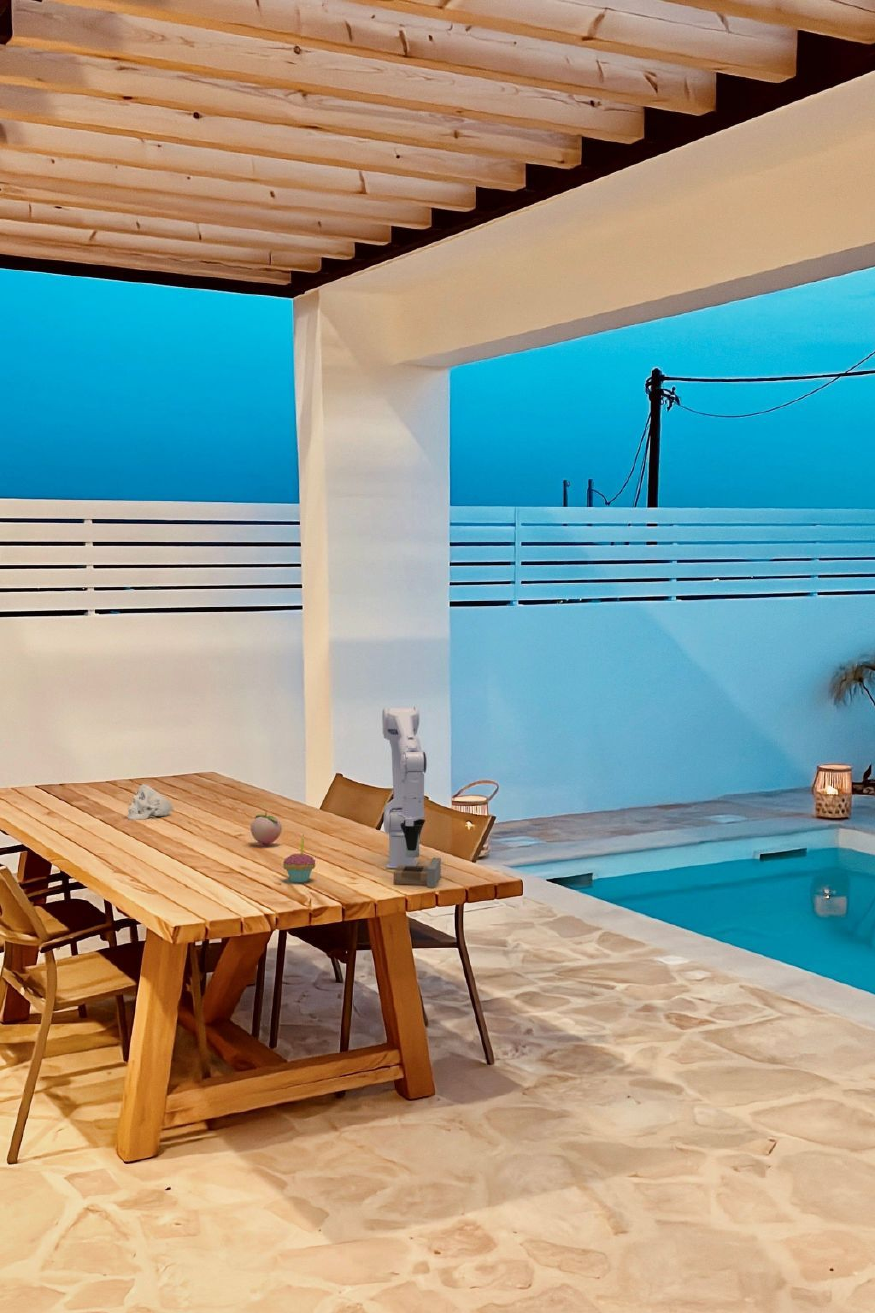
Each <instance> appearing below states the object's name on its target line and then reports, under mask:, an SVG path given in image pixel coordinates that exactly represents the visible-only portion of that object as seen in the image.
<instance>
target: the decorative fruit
mask: <svg viewBox="0 0 875 1313" xmlns="http://www.w3.org/2000/svg"><path fill="white" fill-rule="evenodd" d="M282 830H283V829H282V824H281V822H280V820H278V819H277V818H276V817H275V816H273V815H267V812H265V814H257V815H255V817H254V820H253V821H252V822H251V825H250V832H251V835H252V838H253V839H254V840H255V841H256V842H258V843H260V844H262V845H264V846H268V845H271V844H272V843H273V842H275V841H276V840H277V839H278V838H279V837H280V836H281V834H282Z"/></svg>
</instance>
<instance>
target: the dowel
mask: <svg viewBox="0 0 875 1313" xmlns="http://www.w3.org/2000/svg"><path fill="white" fill-rule="evenodd" d="M406 857H410V858H415V859H416V858H419V857H420V839H419V835H418V841H417V847H416V850H415V851H409V850H407V846H406Z"/></svg>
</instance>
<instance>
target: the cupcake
mask: <svg viewBox="0 0 875 1313" xmlns="http://www.w3.org/2000/svg"><path fill="white" fill-rule="evenodd" d="M304 835H305V834H302V837H301V842H300V843H301V844H300V853H293V854H291V855H289V856H287V857H286V858H285V859H284V861H283V863H282V865H283V866H282V868H283V869H284V870H286V872H287V874H288V878H289V881H290V882H291V883H297V884H300V883H306V882H307V883H308V882H309V880H310V879H309V878H310V875H311V873H312V870H314V869H315V867H316V859H314V857H312V856H311V855H309V854H306V853H304V845H305V837H304Z"/></svg>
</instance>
